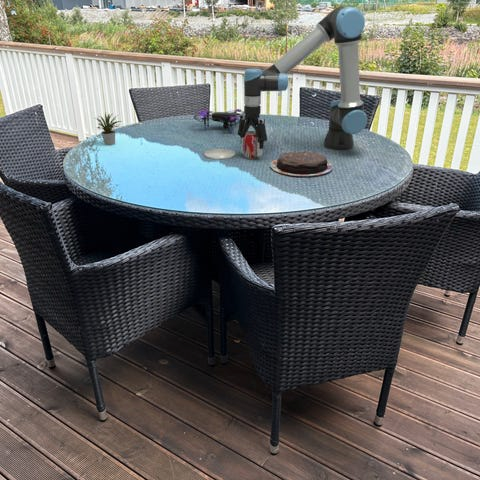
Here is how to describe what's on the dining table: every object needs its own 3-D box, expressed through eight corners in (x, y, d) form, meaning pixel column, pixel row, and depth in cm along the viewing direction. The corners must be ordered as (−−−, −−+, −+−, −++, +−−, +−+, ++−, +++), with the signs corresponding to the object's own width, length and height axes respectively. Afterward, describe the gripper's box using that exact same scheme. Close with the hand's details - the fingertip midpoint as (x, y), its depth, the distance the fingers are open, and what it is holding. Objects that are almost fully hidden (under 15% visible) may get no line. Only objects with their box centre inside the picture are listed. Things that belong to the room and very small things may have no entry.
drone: (237, 121, 245) (186, 119, 248) (237, 139, 249) (187, 137, 253) (246, 106, 280) (201, 105, 283) (246, 122, 285) (201, 120, 288)
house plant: (106, 150, 230) (101, 117, 223) (89, 145, 238) (84, 113, 230) (128, 143, 240) (124, 112, 233) (111, 139, 248) (107, 108, 240)
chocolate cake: (259, 163, 213) (260, 149, 210) (311, 156, 223) (312, 142, 220) (288, 182, 190) (289, 167, 187) (345, 173, 200) (346, 159, 197)
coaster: (241, 154, 223) (241, 153, 223) (218, 161, 214) (218, 159, 214) (220, 148, 233) (220, 147, 232) (197, 154, 223) (197, 153, 223)
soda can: (248, 160, 215) (249, 135, 210) (241, 156, 221) (241, 131, 215) (261, 158, 218) (262, 133, 213) (254, 154, 224) (255, 129, 218)
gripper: (229, 102, 213) (229, 149, 223) (265, 109, 199) (263, 159, 209) (240, 100, 218) (240, 146, 228) (276, 107, 204) (274, 156, 214)
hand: (251, 153), depth 219 cm, fingers open, 10 cm apart
